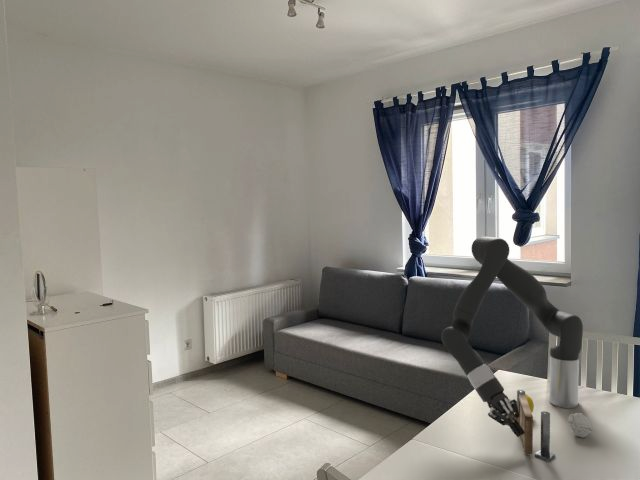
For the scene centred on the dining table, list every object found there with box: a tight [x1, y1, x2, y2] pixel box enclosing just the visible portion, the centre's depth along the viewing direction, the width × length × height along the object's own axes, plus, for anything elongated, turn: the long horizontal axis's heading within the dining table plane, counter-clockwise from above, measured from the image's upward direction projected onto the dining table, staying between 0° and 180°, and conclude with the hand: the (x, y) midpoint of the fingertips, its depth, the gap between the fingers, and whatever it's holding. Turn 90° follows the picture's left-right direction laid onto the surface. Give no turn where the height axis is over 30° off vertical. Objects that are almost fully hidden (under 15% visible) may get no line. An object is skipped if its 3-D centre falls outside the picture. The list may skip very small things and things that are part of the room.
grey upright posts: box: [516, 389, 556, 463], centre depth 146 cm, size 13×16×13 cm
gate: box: [518, 395, 534, 456], centre depth 144 cm, size 15×2×11 cm, turn 164°
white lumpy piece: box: [568, 412, 593, 438], centre depth 149 cm, size 6×7×7 cm
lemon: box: [516, 393, 535, 414], centre depth 163 cm, size 6×6×8 cm
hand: (521, 435), depth 141 cm, fingers closed
